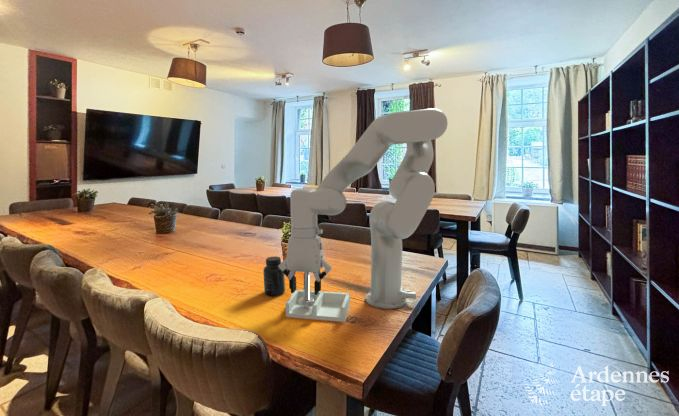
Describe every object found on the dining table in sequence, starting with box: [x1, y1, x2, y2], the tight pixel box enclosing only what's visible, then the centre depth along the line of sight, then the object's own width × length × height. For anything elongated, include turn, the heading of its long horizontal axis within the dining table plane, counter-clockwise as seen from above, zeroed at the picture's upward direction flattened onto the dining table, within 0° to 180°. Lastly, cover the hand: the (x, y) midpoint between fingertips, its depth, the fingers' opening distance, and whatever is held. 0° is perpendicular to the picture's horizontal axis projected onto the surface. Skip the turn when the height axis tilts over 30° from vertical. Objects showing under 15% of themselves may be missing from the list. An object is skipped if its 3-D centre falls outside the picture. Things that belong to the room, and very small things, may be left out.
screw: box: [298, 272, 315, 309], centre depth 98 cm, size 13×5×5 cm
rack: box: [285, 289, 351, 323], centre depth 98 cm, size 17×10×4 cm, turn 80°
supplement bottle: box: [263, 256, 286, 297], centre depth 111 cm, size 7×7×12 cm
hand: (305, 291), depth 98 cm, fingers open, 6 cm apart
